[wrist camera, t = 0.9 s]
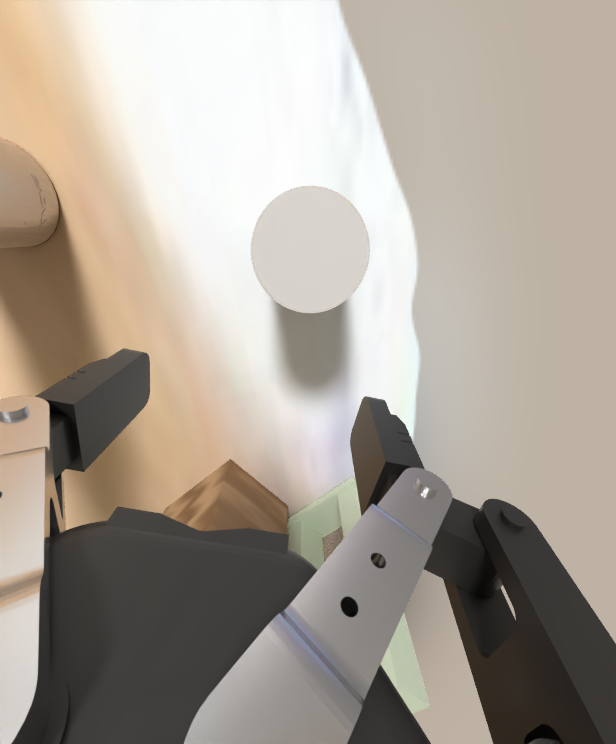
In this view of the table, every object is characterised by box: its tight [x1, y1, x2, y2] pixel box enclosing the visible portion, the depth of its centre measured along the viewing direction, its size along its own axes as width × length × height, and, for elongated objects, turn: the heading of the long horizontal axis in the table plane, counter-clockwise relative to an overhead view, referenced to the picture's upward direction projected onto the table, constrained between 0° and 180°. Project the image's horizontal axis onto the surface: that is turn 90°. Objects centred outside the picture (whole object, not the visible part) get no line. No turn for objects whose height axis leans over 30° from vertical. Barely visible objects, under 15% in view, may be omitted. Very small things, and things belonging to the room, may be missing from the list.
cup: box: [251, 186, 370, 313], centre depth 26 cm, size 8×8×12 cm
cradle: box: [287, 476, 430, 714], centre depth 37 cm, size 14×6×22 cm, turn 131°
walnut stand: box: [163, 459, 288, 534], centre depth 32 cm, size 14×12×32 cm
